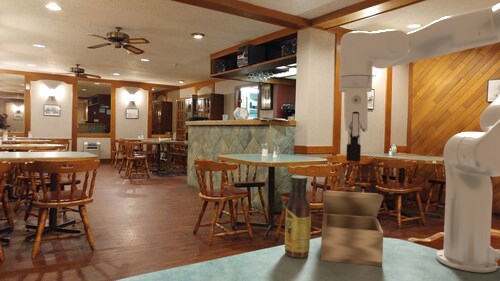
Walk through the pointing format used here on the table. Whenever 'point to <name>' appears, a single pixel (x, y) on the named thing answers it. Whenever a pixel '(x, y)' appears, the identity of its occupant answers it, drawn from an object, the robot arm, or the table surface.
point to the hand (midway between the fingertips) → (353, 160)
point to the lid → (351, 203)
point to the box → (352, 239)
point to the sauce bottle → (297, 219)
